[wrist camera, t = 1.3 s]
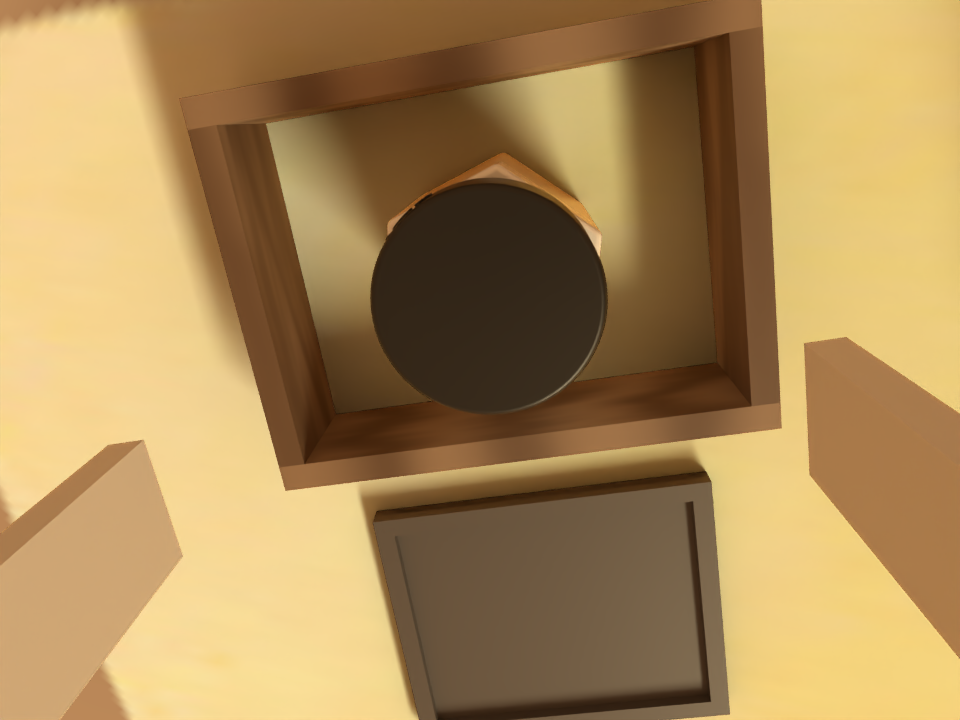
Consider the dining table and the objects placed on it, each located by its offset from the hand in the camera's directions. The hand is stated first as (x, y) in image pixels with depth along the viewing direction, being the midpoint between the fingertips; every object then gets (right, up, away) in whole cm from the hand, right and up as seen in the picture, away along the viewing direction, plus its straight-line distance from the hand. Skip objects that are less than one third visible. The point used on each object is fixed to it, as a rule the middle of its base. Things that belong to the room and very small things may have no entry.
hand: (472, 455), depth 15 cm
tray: (+5, -12, +28) cm, 31 cm away
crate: (+1, +7, +22) cm, 23 cm away
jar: (+1, +7, +22) cm, 23 cm away
